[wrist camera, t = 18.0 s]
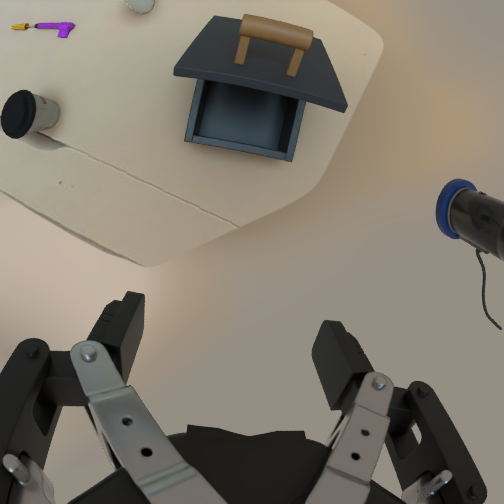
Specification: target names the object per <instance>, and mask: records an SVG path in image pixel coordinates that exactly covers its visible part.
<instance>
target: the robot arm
mask: <svg viewBox="0 0 504 504" xmlns="http://www.w3.org/2000/svg"><path fill="white" fill-rule="evenodd" d="M446 221H447V225H448V227H449V228H450V230H451V231H452V232H454V233H456V236H457V237H458V238H460V239H462V240H464V241H465V242H467V243H469V244H470V245H471V246H473V247H475V248H476V255H477V257H478V260H479V262H480V264H481V267H482V271H483V286H482V302H483V308H484V311H485V314H486V316H487V317H488V319H489V320H490V321H491V322H492V323H493V324H494V325H495V326H496V327H498V328H499V329H500V330H501V329H502V328H501V327H500V326H499V325H498V324H497V323H496V322H495V321H494V320H493V319H492V318H491V317H490V316H489V314H488V312H487V309H486V305H485V295H484V294H485V280H486V273H485V267H484V264H483V261H482V259H481V257H480V255H479V252H484V253H485V254H488V253H491V254H493V255H494V256H496V257H497V258H499V259H501V260H502V261H504V202H503V201H501V200H498V199H496V198H493V197H491V196H488V195H486V194H485V193H483V192H481V193H480V192H477V191H474V190H472V189H470V188H467V187H461V188H458V189H457V190H456V191H455V192H454V193H453V194H452V195H451V197H450V199H449V201H448V204H447V208H446ZM144 303H145V295H144V294H141V293H136V292H131V291H127V293H126V294H125V296H124V298H123V300H122V301H118V300H114V301H112V302H111V303H109V304H108V305H106V307H105V308H104V310H103V312H102V314H101V315H100V317H99V320H97V322H96V324H95V325H94V327H93V329H92V331H91V333H90V334H89V336H88V338H87V340H86V341H81V342H79V343H77V344H75V345H74V346H73V347H72V349H71V351H50V350H49V346H48V344H47V343H46V342H45V341H43V340H41V339H37V338H30V339H26V340H24V341H22V342H20V343H19V344H18V346H17V347H16V349H15V350H14V352H13V353H12V355H11V357H10V358H9V360H8V361H7V363H6V365H5V366H4V368H3V370H2V372H1V373H0V504H55V501H54V488H53V485H52V483H51V481H50V479H49V478H48V477H47V476H46V475H45V473H44V472H43V469H44V465H45V461H46V458H47V454H48V450H49V447H50V444H51V441H52V437H53V434H54V431H55V428H56V425H57V422H58V419H59V416H60V413H61V410H62V407H63V406H84V409H85V411H86V413H87V415H88V417H89V420H90V422H91V424H92V426H93V428H94V430H95V432H96V434H97V436H98V438H99V440H100V443H101V444H102V447H103V449H104V451H105V453H106V456H107V457H108V459H109V461H110V463H111V465H112V466H113V468H114V470H115V472H113V473H112V474H110V475H109V476H107V477H106V478H105V479H103V480H102V481H100V482H99V483H97V484H96V485H94V486H93V487H91V488H90V489H88V490H87V491H85V492H84V493H82V494H81V495H79V496H77V497H76V498H75V499H73V500H71V501H70V502H68V504H483V503H484V502H485V500H486V498H487V489H486V486H485V484H484V482H483V479H482V477H481V475H480V473H479V471H478V469H477V467H476V465H475V463H474V461H473V459H472V457H471V456H470V454H469V452H468V450H467V448H466V446H465V445H464V442H463V440H462V439H461V437H460V435H459V433H458V431H457V430H456V428H455V426H454V424H453V422H452V421H451V419H450V417H449V415H448V414H447V412H446V410H445V409H444V407H443V406H442V404H441V402H440V400H439V398H438V397H437V395H436V393H435V392H434V390H433V389H432V388H431V387H430V386H429V385H428V384H426V383H424V382H421V381H414V382H412V383H411V384H410V386H409V387H408V389H404V388H399V387H394V385H393V383H392V381H391V380H390V379H389V378H388V377H387V376H386V375H384V374H381V373H379V372H375V371H374V369H373V367H372V365H371V364H370V362H369V360H368V358H367V356H366V355H365V354H364V351H363V350H362V348H361V346H360V344H359V343H358V341H357V339H356V338H355V337H354V336H352V335H351V334H350V333H349V332H346V330H345V328H344V326H343V325H342V323H341V322H340V321H330V320H324V321H323V323H322V325H321V327H320V330H319V332H318V335H317V337H316V340H315V342H314V345H313V348H312V359H313V362H314V365H315V367H316V370H317V373H318V376H319V379H320V381H321V384H322V387H323V389H324V392H325V395H326V398H327V401H328V404H329V406H330V409H331V410H341V411H342V414H341V415H340V417H339V419H338V420H337V422H336V424H335V427H334V428H333V430H332V432H331V434H330V436H329V437H328V439H327V441H326V443H325V445H323V444H321V443H319V442H316V441H313V440H310V439H306V437H305V432H304V431H275V432H270V433H265V434H259V435H255V436H245V435H241V434H237V433H233V432H230V431H226V430H223V429H219V428H213V427H203V426H194V425H187V432H186V433H178V434H173V435H169V436H166V435H165V434H164V433H163V431H162V430H161V429H160V427H159V426H158V424H157V423H156V421H155V420H154V419H153V417H152V415H151V414H150V412H149V411H148V410H147V408H146V407H145V405H144V403H143V402H142V400H141V399H140V397H139V396H138V394H137V392H136V391H135V389H134V388H133V387H132V386H131V385H129V386H126V383H127V381H128V377H129V374H130V371H131V368H132V365H133V362H134V359H135V355H136V353H137V350H138V347H139V344H140V340H141V338H142V334H143V329H144V306H145V304H144ZM415 423H417V426H418V428H419V430H420V432H421V435H422V439H421V442H420V444H418V442H417V440H416V437H415V435H414V433H413V431H412V429H411V428H412V427H413V426H414V425H415ZM384 442H385V444H386V447H387V449H388V452H389V455H390V457H391V460H392V463H393V466H394V468H395V471H396V474H397V477H398V480H399V483H400V485H401V488H402V491H403V493H402V497H401V499H400V498H398V497H397V496H395V495H394V494H392V493H390V492H389V491H388V490H386V489H384V488H383V487H382V486H380V485H379V484H378V483H376V482H375V481H373V480H372V479H371V478H372V475H373V472H374V469H375V467H376V464H377V461H378V458H379V455H380V452H381V449H382V446H383V443H384Z"/></svg>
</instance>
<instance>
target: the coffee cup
mask: <svg viewBox="0 0 504 504" xmlns="http://www.w3.org/2000/svg"><path fill="white" fill-rule="evenodd" d="M59 115H60V108H59V106H58V104H57V103H56V102H54V101H52V100H49V99H46V98H43V97H41V96H38V95H35V94H32V93H31V92H30V91H27V90H20V91H18V92H16V93H14V94H13V95H12V96H10V97H9V98H8V100H7V102H6V103H5V105H4V107H3V110H2V114H1V125H2V128H3V131H4V132H5V134H6V135H7V136H9V137H11V138H12V139H18V138H20V137H23V136H24V135H26V134H30V133H33V132H37V131H40V130H44V129H48V128H51V127H52V126H54V125H55V124H56V122H57V121H58V118H59Z"/></svg>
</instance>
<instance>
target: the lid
mask: <svg viewBox="0 0 504 504" xmlns="http://www.w3.org/2000/svg"><path fill="white" fill-rule="evenodd" d="M173 75H174V76H180V77H188V78H196V79H203V80H210V81H217V82H223V83H228V84H234V85H239V86H244V87H249V88H254V89H259V90H263V91H268V92H272V93H276V94H280V95H284V96H288V97H292V98H296V99H299V100H303V101H307V102H310V103H313V104H317V105H320V106H323V107H327V108H330V109H333V110H336V111H339V112H342V113H344V112H345V111H346V109H347V107H348V104H347V102H346V99H345V96H344V94H343V91H342V88H341V86H340V83H339V81H338V78H337V76H336V73H335V71H334V68H333V66H332V64H331V61H330V59H329V57H328V54H327V52H326V50H325V48H324V46H323V43H322V41H321V40H320V39H317V38H314V37H313V31H312V30H309V29H306V28H303V27H299V26H296V25H292V24H288V23H284V22H280V21H276V20H272V19H268V18H263V17H258V16H253V15H248V14H244V16H243V19H242V20H240V19H234V18H227V17H220V16H213V18H212V19H211V20H210V21H209V22H208V24H207V25H206V26H205V27H204V28H203V30H202V31H201V32H200V33H199V35H198V36H197V37H196V38H195V40H194V41H193V42H192V44H191V45H190V46H189V47H188V49H187V50H186V51H185V53H184V54H183V56H182V57H181V58H180V60H179V61H178V62H177V64H176V65H175V67H174V73H173Z"/></svg>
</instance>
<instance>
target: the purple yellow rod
mask: <svg viewBox="0 0 504 504" xmlns="http://www.w3.org/2000/svg"><path fill="white" fill-rule="evenodd" d="M34 26H35V28H58V30H60V31H59V34H58V37H67V36H68V32H69V30H71V28H73V27H74V24H73V23H71V22H62V23H39V24H35V25H32V26H29V25H28V23H26V24H19V25H14V26H12V28H11V29H27V28H28V27H34Z"/></svg>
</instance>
